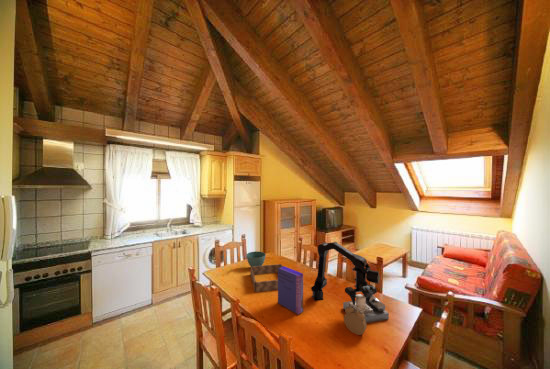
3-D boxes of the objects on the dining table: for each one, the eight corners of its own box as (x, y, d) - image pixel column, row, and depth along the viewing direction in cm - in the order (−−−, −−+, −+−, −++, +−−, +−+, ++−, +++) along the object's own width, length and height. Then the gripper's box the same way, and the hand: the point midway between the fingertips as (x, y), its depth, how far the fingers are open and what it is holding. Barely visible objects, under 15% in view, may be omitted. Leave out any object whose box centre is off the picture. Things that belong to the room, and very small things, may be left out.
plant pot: (242, 266, 197) (242, 254, 197) (257, 262, 210) (257, 250, 210) (254, 273, 184) (254, 259, 184) (269, 267, 196) (269, 254, 196)
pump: (359, 311, 122) (359, 299, 122) (351, 304, 130) (351, 292, 130) (368, 310, 124) (368, 298, 124) (359, 302, 132) (359, 291, 132)
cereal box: (303, 311, 129) (303, 273, 129) (298, 314, 126) (298, 275, 126) (282, 300, 141) (282, 265, 141) (277, 303, 138) (278, 267, 138)
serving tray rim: (254, 292, 151) (254, 282, 151) (250, 274, 181) (250, 266, 181) (291, 288, 158) (291, 278, 158) (281, 271, 187) (281, 263, 187)
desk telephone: (358, 325, 117) (358, 309, 117) (343, 308, 132) (343, 294, 132) (388, 319, 121) (388, 304, 121) (370, 304, 137) (370, 290, 137)
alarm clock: (367, 335, 108) (367, 307, 108) (363, 341, 105) (363, 311, 105) (346, 325, 116) (346, 299, 116) (342, 330, 112) (342, 303, 112)
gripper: (355, 286, 116) (355, 314, 116) (383, 283, 120) (383, 309, 120) (344, 277, 127) (344, 303, 127) (370, 274, 131) (370, 299, 131)
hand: (360, 303), depth 126 cm, fingers open, 9 cm apart
